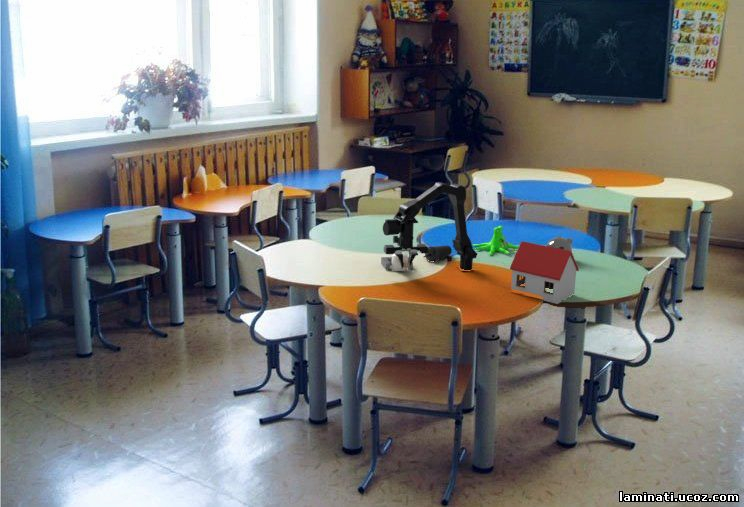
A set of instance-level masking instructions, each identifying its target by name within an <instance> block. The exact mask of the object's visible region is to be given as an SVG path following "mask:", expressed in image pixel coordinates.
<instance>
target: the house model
mask: <svg viewBox="0 0 744 507" xmlns="http://www.w3.org/2000/svg"><path fill="white" fill-rule="evenodd" d="M518 246H519V248H518V249H516V250H517V251H516V252H515V255H514V258H513V260H512V262H511V264H510V267H509V270H511V287H510V290H511V289H514V290H519V291H523V292H527V293H531V294H535V295H539V296H541V297H542V298H543V299H544V302H549V303H552V304H556V305H558V304H560V303H562V302H563V301H562V300H564V299H566V298H568V297H569V296H571V295H572V294H574V295H575V290H576V281H577V280H576V276H577V272H579V271H580V270H579V267H578V264H577V261H576V259H575V256H574V254H573V250H572V251H568V250H564V247H559V249H558V248H554V247H549V246H547V245H544V244H537V243H533V242H527V241H525V240H524V241H523V240H521V242H520V243H519V245H518ZM524 283H525V286H520V285H521V284H524ZM545 288H549V289H553V293H550V292H546V291H545ZM568 299H569V298H568ZM566 300H567V299H566ZM561 301H562V302H561ZM564 301H565V300H564Z"/></svg>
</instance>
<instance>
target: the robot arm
mask: <svg viewBox="0 0 744 507" xmlns="http://www.w3.org/2000/svg"><path fill="white" fill-rule="evenodd" d="M443 193H444V194H448V195H447V196H448V198H449V200H450V202H451V204H452V208H453V216H454V225H455V232H456V234H455V235H456V236H455V238H452V239H451V240H452V248H454V249H453V250H455V251H456V254H457V255H458V256H460V258H459V266H460V268H461V269H464V270H471V269H472V268H473V264H474V262H473V261H474V259H477V256H478V253H477V252H476V250H475V249H474V248H473V247H474V246H472V245H473V243H472V241H471V239H470V237H469V234H468V230H467V220H466V210H465V202H466V200H467V188H466V187H464V185H461V184H458V183H451V184H449V183H443V182H440V181H439V182H435V184H434V185H433V186H432V187H430V188H429V189H427V190H425V191H424V192H423V193H422V194H420V195H419V196H418V197H416V198H414V199H411V200H408V201H406V202H404V203H402V204H401V205H399V207H398V210H397V212H396V213H395V215H394V216H393V218H391V219H389V218H387V219H385V222H383V224H382V232H383V234H384V235H385V236H392V243H393V244H396V246H395V245H393V244H384V246H383V252H384V253H385V255H392V254H395V255H396V256H398V258H399V261H400V264H401V268H402V269H403V254H402V253H403V252H408V257H409V258H408V262H409V263H410V266H411V263H412V262H413V261H414V259H415V258H416V256H419V253H418V252H420V254H425V253H428V250H429V249H428V247H429V246H427V245H426V244H425V243H417V245H416V246H414V228H415V227H414V224H418V223H419V220H417V219H416V216H417V215H419V213H420V212H421V211H422V210H421V209H423V208H424V207H425V206H427V205H428V204H429V203H430V202H432V201H434V200H435V199H436V198H437V197H439V196H440V195H442V194H443ZM398 235H399V236H398ZM410 266H409V268H410Z"/></svg>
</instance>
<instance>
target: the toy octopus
mask: <svg viewBox="0 0 744 507" xmlns="http://www.w3.org/2000/svg"><path fill="white" fill-rule="evenodd" d="M503 229H504V227H503V225H499V226H496V227H494V228H493V236H492V238H491V240H490V241H489V242H481V243H478V244H477V243H474V244H473V243H472V247H475V248H474V251H488V253H489V254H488V256H489V257H490V256H493V255H494V253H496V252H498V253H504V254H506V255H509V254H510V251H508V250H509V249H512V250H518V248H519V246H520V245H514V244H512V243H511V242H507V241H506V236H505V235H504V234H503V232H502V231H503Z"/></svg>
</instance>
